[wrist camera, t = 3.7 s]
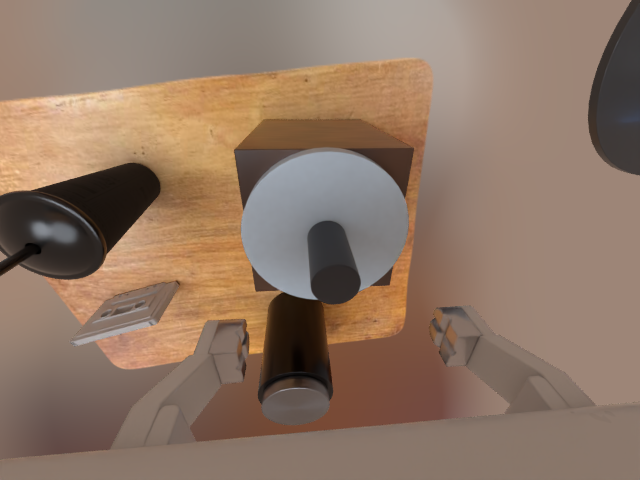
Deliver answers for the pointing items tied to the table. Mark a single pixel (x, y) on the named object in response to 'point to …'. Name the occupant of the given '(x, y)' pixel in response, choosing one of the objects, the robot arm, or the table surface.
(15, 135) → the table surface
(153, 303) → the cassette
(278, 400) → the thermos
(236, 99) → the table surface
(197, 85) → the table surface
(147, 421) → the robot arm
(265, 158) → the riser
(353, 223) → the lid
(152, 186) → the drinking cup
